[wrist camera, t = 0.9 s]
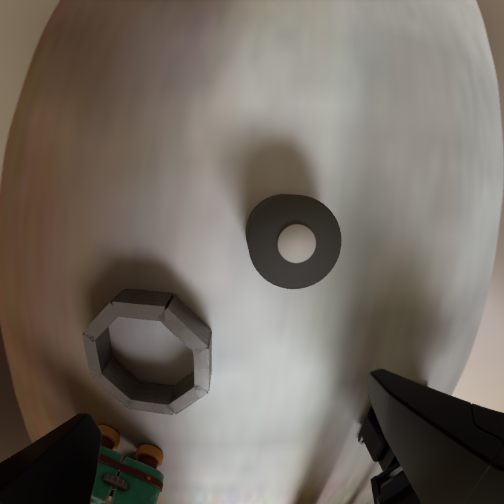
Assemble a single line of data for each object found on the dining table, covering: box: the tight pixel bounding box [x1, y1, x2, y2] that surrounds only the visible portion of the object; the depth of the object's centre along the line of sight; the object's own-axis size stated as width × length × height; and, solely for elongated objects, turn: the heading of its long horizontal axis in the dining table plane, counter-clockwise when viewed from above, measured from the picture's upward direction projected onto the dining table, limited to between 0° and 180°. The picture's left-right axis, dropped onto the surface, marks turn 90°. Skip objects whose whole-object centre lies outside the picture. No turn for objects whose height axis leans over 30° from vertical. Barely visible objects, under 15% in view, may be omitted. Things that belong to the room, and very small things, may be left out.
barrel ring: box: [82, 289, 212, 415], centre depth 19 cm, size 9×9×2 cm
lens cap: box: [246, 194, 341, 289], centre depth 17 cm, size 5×5×4 cm
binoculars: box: [90, 425, 164, 504], centre depth 18 cm, size 9×11×10 cm
